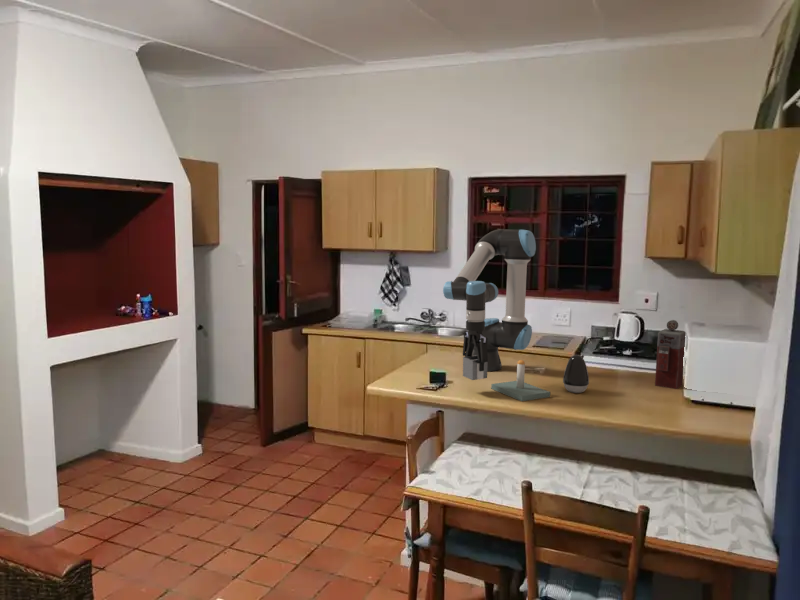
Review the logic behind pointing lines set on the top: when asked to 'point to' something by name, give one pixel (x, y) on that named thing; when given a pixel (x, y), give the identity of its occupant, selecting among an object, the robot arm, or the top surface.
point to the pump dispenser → (576, 375)
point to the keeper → (520, 387)
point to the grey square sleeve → (472, 367)
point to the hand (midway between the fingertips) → (474, 376)
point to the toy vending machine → (670, 356)
